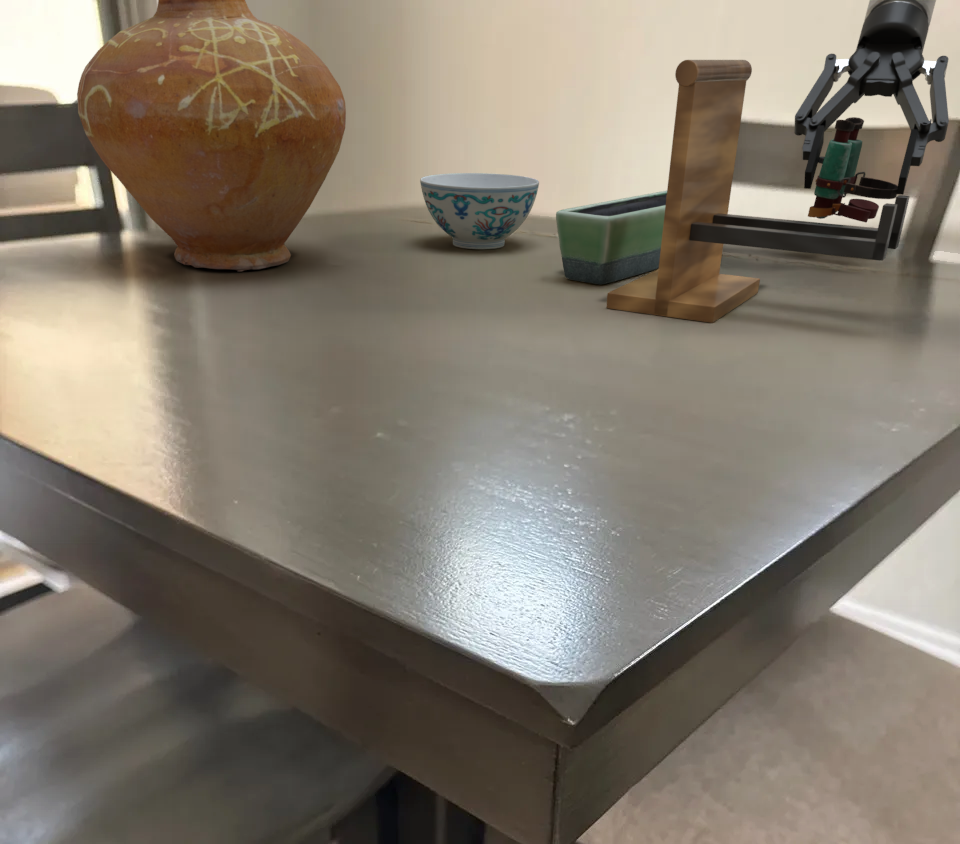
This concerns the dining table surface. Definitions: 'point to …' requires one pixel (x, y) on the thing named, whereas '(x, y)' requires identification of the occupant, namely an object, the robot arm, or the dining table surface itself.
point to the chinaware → (479, 206)
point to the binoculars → (847, 178)
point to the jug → (214, 128)
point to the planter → (612, 238)
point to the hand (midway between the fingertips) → (853, 183)
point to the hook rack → (726, 209)
